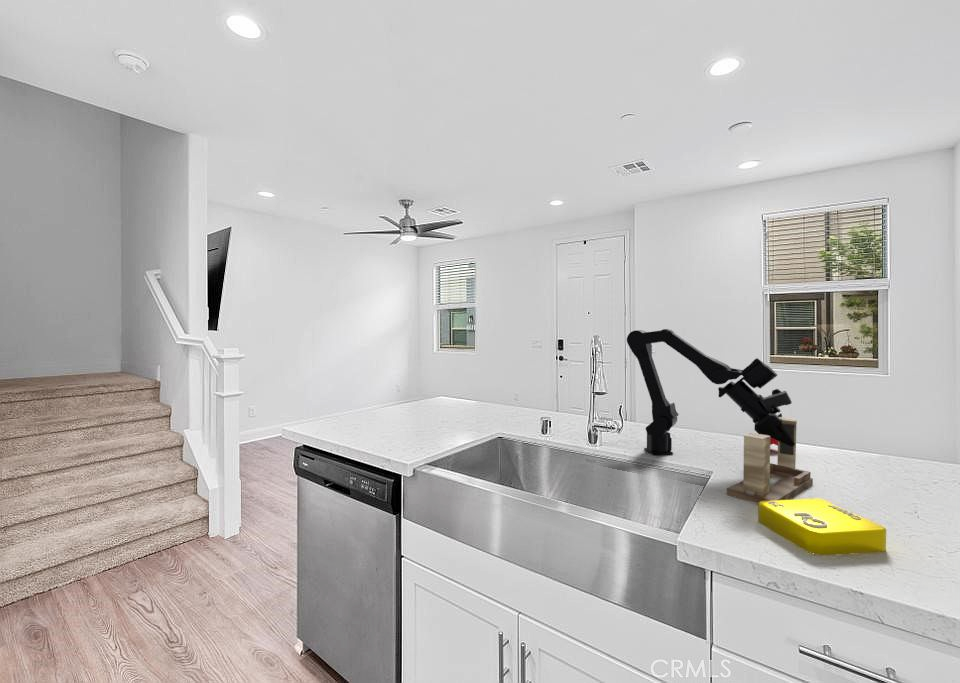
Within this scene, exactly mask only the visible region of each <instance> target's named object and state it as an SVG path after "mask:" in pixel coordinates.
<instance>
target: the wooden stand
mask: <svg viewBox="0 0 960 683" xmlns="http://www.w3.org/2000/svg"><path fill="white" fill-rule="evenodd" d="M742 475H743V480H741V481H739V482H738V483H735V484H733V485H731V486H728V487H726V495H727V496H730V497H734V498H736V499H741V500H744V501H747V502H751V503H755V504H757V505H758V504H759V502H760V501H771V500H791V499H793V498H794V497H795V496H796V495H798V494H799V493H801V492H802V491H805V490H806V489H808V488H809V487H811V486H812V485H814V483H813V482H814V481H813V480H814V479H813V477H811V471H808V470H803V469H799V468H796V467H795V468H790V467H785V466H781V465H777V464H775V463H771V445H770V436H767V435H762V434H758V433H757V432H756V433H754V432H750V433H747V434H746V433H745V434H744V435H743V474H742Z"/></svg>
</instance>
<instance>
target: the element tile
mask: <svg viewBox="0 0 960 683" xmlns="http://www.w3.org/2000/svg"><path fill="white" fill-rule="evenodd" d="M757 505H758V509H757V510H758V511H757V512H758V513H757V516H758V517H757V519H758V520H757V521H758V523H759V524H761V525H762V526H764V527H765V528H767V529H769V530H771V531H772V532H773V533H776V534H777V535H779V536H781V537H782V538H783V539H785V540H786V541H788V540H789V541H788V542H790V543H792V544H793V543H794V544H793V545H795V546H796V547H798V546H799V547H798V548H800V549H801V548H802V550H803V549H804V550H803V551H805V550H806V551H805V552H807V551H808V552H807V553H809V552H811V553H810V554H812V553H814V554H813V555H816V554H818V555H817V556H823V555H826V556H837V555H836V554H843V555H851V554H850V553H860V554H873V553H874V554H875V553H884V552H886V550H887V529H886V527H884V526H883V525H881V524H879V523H877V522H874V521H872V520H870V519H868V518H865V517H863V516H861V515H859V514H857V513H854V512H852V511H850V510H847V509H845V508H843V507H841V506H839V505H836V504H834V503H832V502H829V501H828V500H825V499H822V498H797V499H796V498H795V499H793V498H792V499H788V500H771V501H760V502H759V504H758V503H757Z"/></svg>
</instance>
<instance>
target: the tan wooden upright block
mask: <svg viewBox="0 0 960 683" xmlns="http://www.w3.org/2000/svg"><path fill="white" fill-rule="evenodd" d="M779 418H780V419H782V428H783V429H784V430H785V432H786V433H787V434H788V435H789V437H790V438H791V439H792V441H793V442H794V443H795V445H794V446H792V447H791V446H789V445H787V444H784V443H782V442H780V441H778V446H777V460H776V461H777V464H776V465H781V466H785V467H790V468H795V469H796V463H797V462H796V457H797V454H796V453H797V423H798V422H797V418H792V417H783V416H782V417H779Z"/></svg>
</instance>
